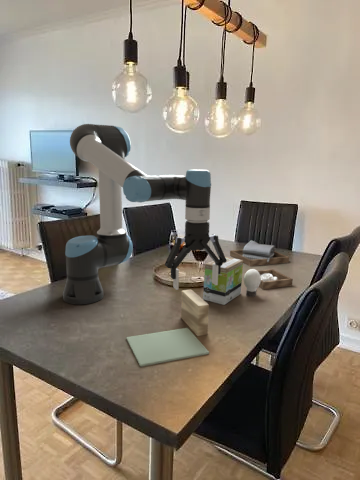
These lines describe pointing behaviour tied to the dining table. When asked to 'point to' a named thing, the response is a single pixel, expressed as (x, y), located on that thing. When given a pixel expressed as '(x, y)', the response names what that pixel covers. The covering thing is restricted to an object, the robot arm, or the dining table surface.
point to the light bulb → (252, 282)
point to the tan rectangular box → (194, 312)
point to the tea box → (223, 281)
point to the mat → (165, 346)
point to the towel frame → (278, 259)
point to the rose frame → (280, 282)
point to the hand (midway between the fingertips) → (195, 286)
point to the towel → (258, 251)
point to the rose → (268, 277)
